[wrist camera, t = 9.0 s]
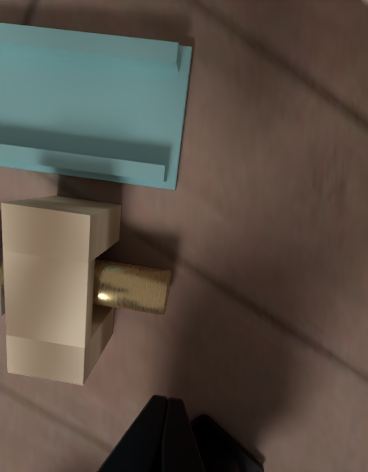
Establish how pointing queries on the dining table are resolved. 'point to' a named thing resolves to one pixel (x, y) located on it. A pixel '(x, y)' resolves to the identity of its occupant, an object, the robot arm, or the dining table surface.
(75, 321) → the bore block
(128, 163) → the cradle
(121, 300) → the cylinder
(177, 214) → the dining table surface
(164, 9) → the dining table surface
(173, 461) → the robot arm
